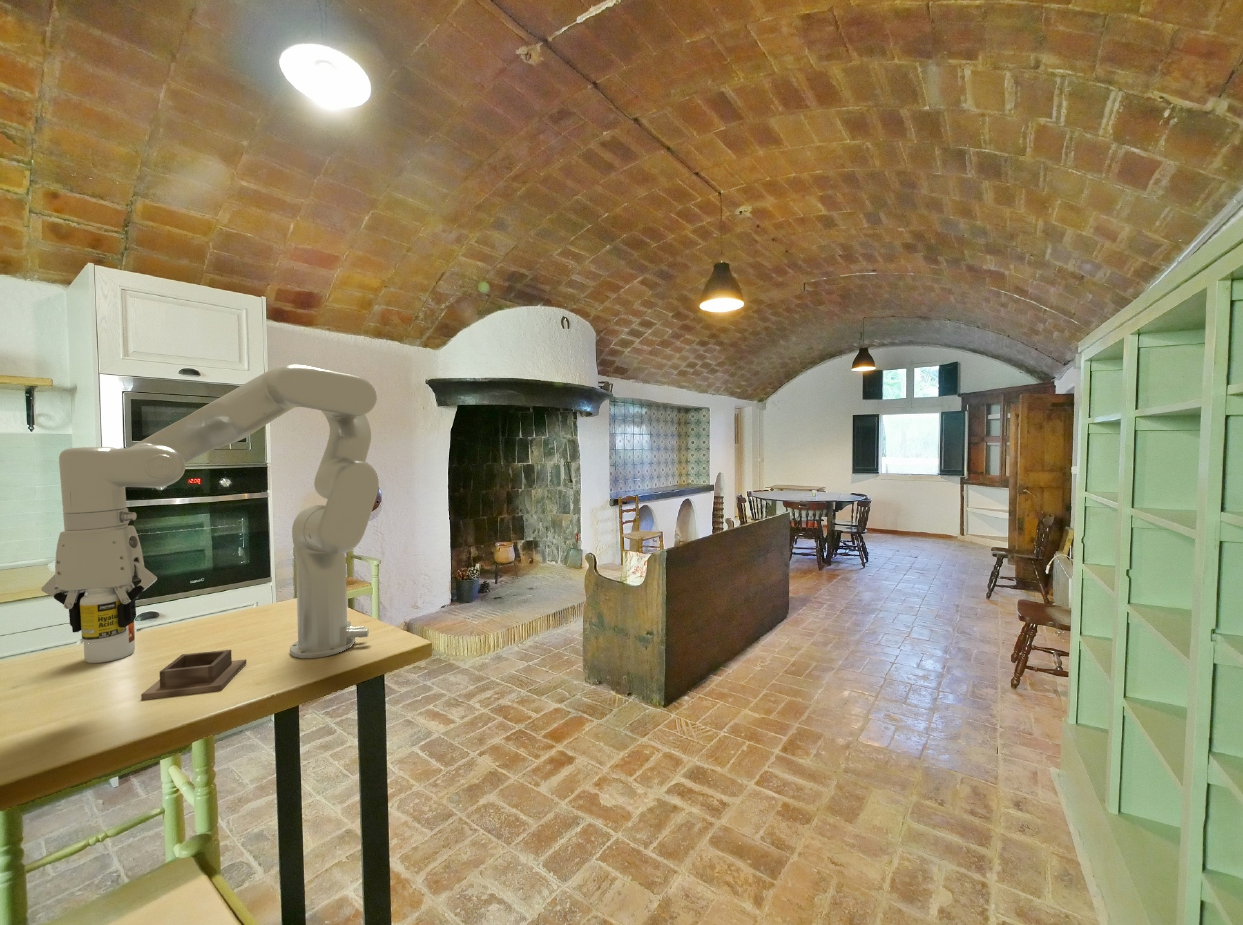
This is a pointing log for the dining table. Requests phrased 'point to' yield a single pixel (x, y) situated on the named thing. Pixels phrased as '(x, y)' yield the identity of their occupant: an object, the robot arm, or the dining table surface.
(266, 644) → the dining table surface
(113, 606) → the supplement bottle
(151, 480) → the robot arm
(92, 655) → the milk bottle
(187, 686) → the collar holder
